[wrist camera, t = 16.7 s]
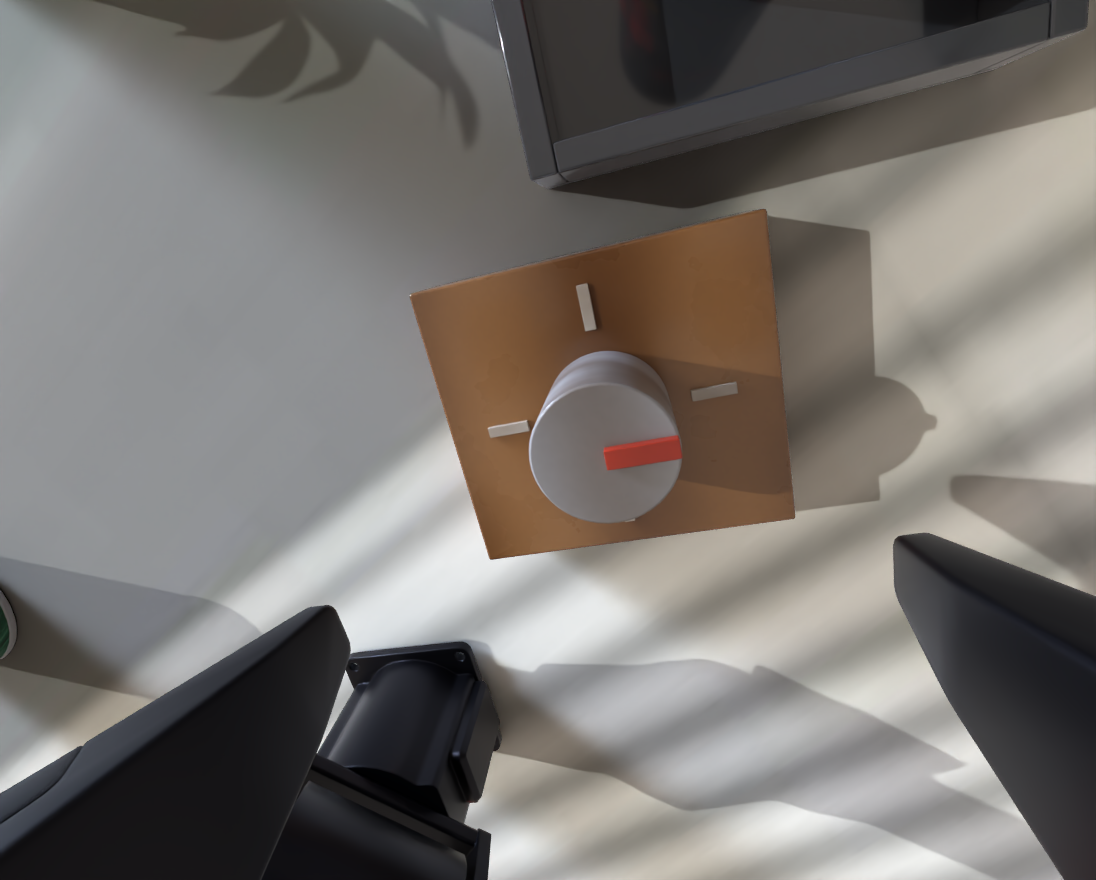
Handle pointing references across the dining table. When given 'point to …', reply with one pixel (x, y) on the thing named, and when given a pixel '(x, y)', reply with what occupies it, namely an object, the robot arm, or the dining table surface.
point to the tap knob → (606, 439)
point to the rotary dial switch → (639, 330)
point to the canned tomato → (6, 627)
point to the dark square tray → (736, 67)
